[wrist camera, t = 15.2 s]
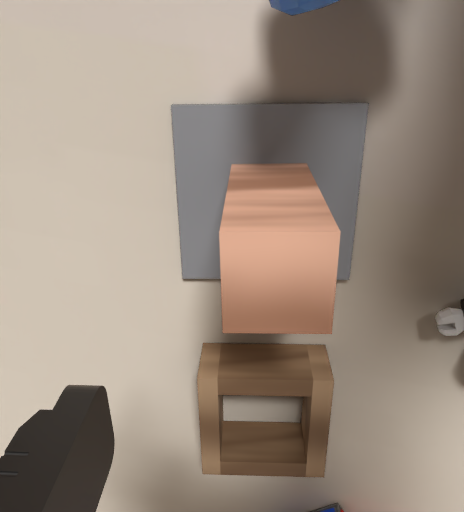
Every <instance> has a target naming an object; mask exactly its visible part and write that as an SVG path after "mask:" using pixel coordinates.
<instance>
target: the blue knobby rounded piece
mask: <svg viewBox="0 0 464 512" xmlns="http://www.w3.org/2000/svg"><path fill="white" fill-rule="evenodd" d="M269 1H270V4H271V7H272V8H275V9H277V10H279V11H282V12H284V13H287V14H289V15H292V16H293V15H296V14H300V13H304V12H308V11H312V10H315V9H319V8H323V7H325V6H328V5H330V4H332V3H335V2H337V1H339V0H269Z"/></svg>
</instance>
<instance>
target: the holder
mask: <svg viewBox="0 0 464 512" xmlns="http://www.w3.org/2000/svg"><path fill="white" fill-rule="evenodd" d="M197 385H198V403H199V420H200V438H201V455H202V473H203V474H218V475H256V476H293V477H324V472H325V463H326V453H327V444H328V434H329V425H330V415H331V406H332V396H333V387H334V378H333V374H332V370H331V366H330V362H329V358H328V354H327V350H326V346H325V345H303V344H231V343H203V346H202V352H201V358H200V364H199V370H198V376H197ZM223 395H259V396H303V403H302V418H301V423H291V422H244V421H223Z"/></svg>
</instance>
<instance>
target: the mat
mask: <svg viewBox="0 0 464 512" xmlns="http://www.w3.org/2000/svg"><path fill="white" fill-rule="evenodd" d="M368 106H369V103H283V104H172V105H171V110H172V125H173V140H174V155H175V170H176V186H177V201H178V216H179V231H180V246H181V261H182V276H183V279H221V271H220V242H219V231H220V225H221V220H222V214H223V209H224V203H225V198H226V192H227V187H228V181H229V176H230V170H231V165H232V164H281V163H307V165H308V167H309V169H310V171H311V173H312V175H313V177H314V179H315V181H316V183H317V185H318V187H319V189H320V191H321V193H322V195H323V198H324V200H325V202H326V204H327V206H328V208H329V210H330V212H331V214H332V216H333V218H334V220H335V222H336V224H337V226H338V228H339V230H340V232H341V234H340V245H339V256H338V268H337V279H336V280H349V278H350V269H351V260H352V251H353V242H354V232H355V223H356V214H357V205H358V196H359V187H360V178H361V169H362V160H363V151H364V142H365V133H366V124H367V115H368Z"/></svg>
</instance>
